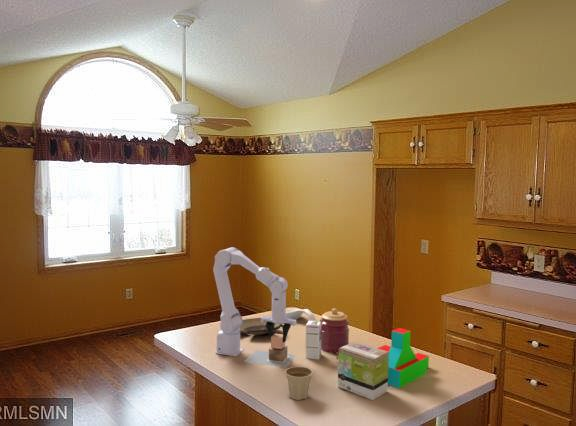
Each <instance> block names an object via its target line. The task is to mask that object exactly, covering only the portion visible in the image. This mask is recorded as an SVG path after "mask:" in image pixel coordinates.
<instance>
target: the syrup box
mask: <svg viewBox="0 0 576 426" xmlns="http://www.w3.org/2000/svg"><path fill="white" fill-rule="evenodd" d="M321 357H322V350H321V322H320V320H316V321H309V320H308V321H307V322H306V324H305V359H312V360H319V359H321Z"/></svg>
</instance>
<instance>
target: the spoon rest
mask: <svg viewBox="0 0 576 426" xmlns="http://www.w3.org/2000/svg"><path fill="white" fill-rule="evenodd" d="M304 314H305V315H306V316H307V317H308V321H317V319H316V317H315V314H313V312H312V311H311V310H310V309H307V308H304V309H300V308H289V309H287V308H286V318H289V319H294V320H296V321H297V320H298V319H299V318H301V317H302V315H304Z"/></svg>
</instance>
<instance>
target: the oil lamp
mask: <svg viewBox="0 0 576 426" xmlns="http://www.w3.org/2000/svg"><path fill="white" fill-rule="evenodd" d="M266 323H267V322H261V317H255V318H246V319H243V323H242V325H241V326H240V333H243V334H246V335H248V336H249V335H251V336H262V335H265V334H269V332H268V330H267V328H266ZM283 325H284V324H278V323H275V326H274V331H276V330H279V329H281V328H282V326H283Z"/></svg>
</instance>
